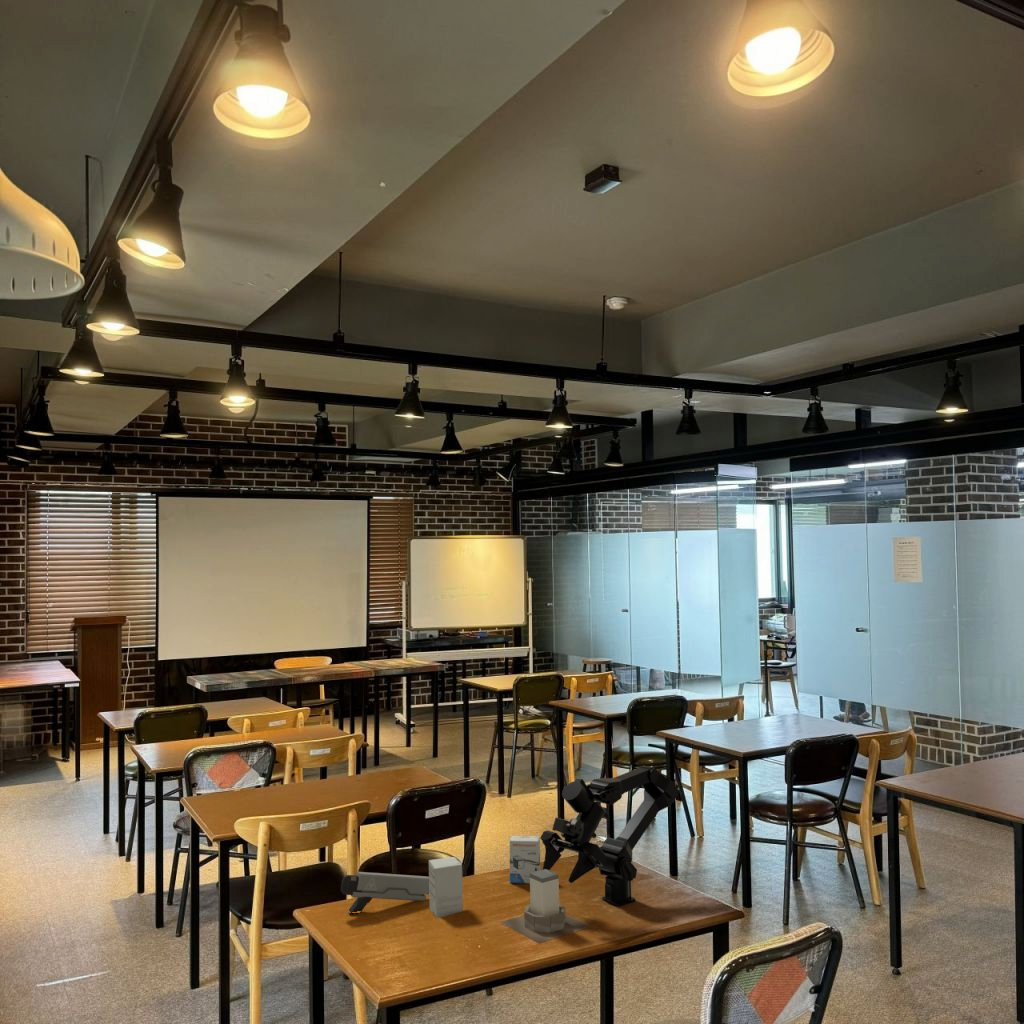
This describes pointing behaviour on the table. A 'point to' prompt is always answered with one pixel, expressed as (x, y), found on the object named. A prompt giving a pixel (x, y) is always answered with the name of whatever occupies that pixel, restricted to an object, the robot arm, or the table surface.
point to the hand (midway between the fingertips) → (556, 877)
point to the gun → (383, 888)
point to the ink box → (524, 858)
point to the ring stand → (545, 925)
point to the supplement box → (445, 886)
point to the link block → (544, 893)
